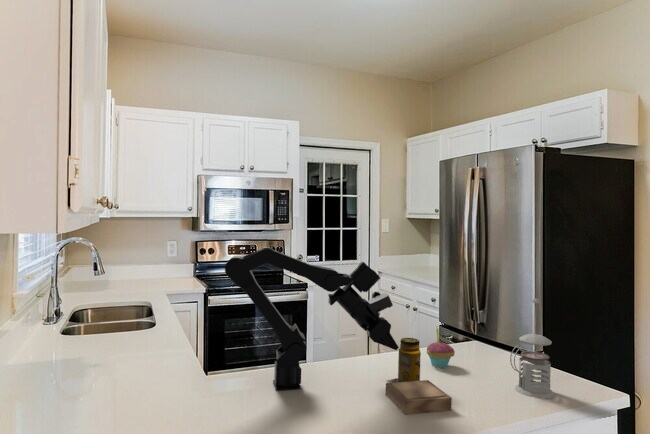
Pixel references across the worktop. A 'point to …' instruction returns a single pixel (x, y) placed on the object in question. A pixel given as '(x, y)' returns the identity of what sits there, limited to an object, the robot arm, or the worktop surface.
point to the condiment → (408, 361)
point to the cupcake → (440, 353)
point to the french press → (534, 367)
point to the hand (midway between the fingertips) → (392, 344)
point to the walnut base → (418, 397)
